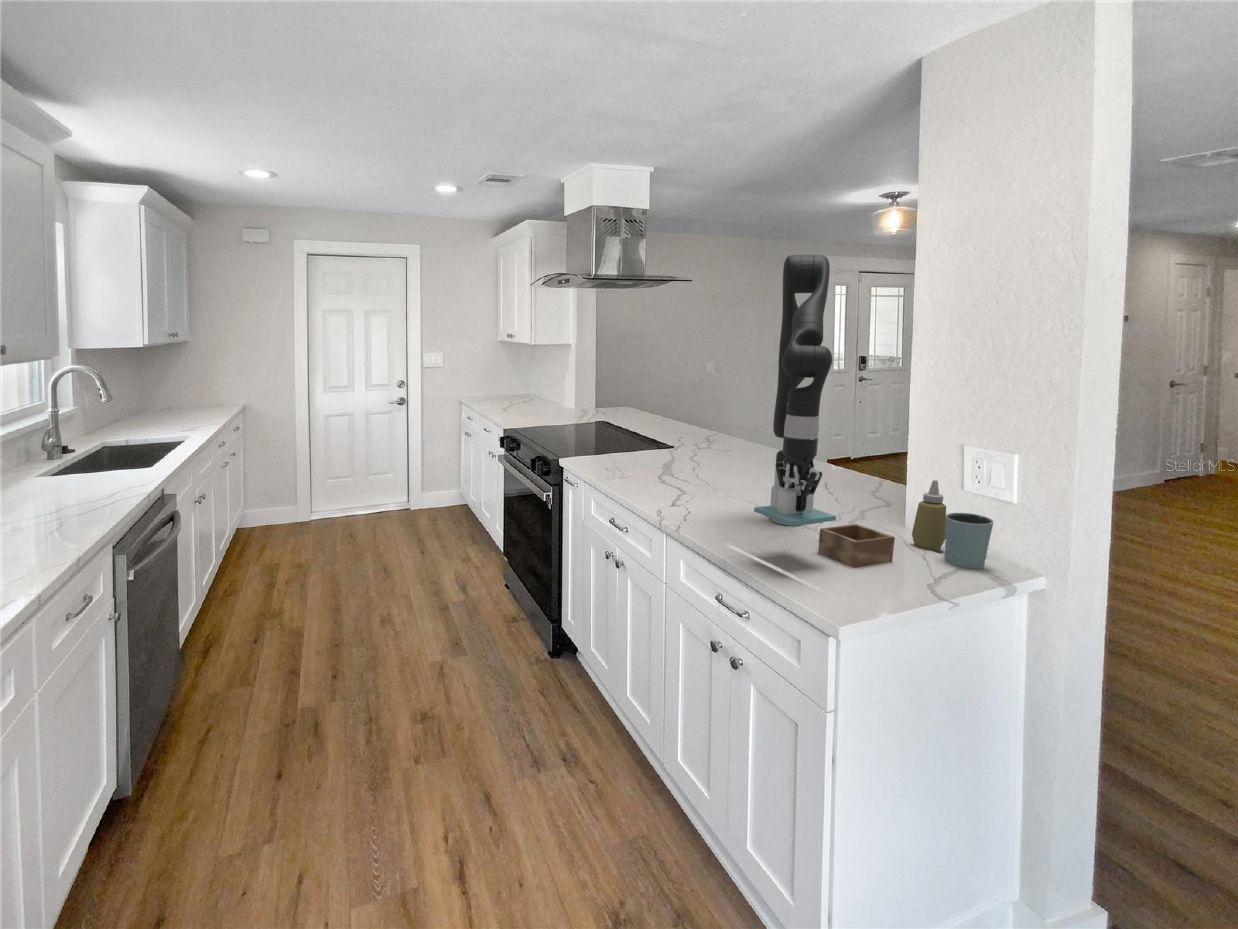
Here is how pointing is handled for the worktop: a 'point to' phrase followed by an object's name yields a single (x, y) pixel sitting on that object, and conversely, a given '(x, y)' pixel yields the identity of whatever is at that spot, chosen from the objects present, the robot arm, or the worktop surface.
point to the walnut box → (856, 545)
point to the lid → (794, 510)
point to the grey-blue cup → (967, 539)
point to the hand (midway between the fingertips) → (794, 509)
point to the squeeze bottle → (930, 520)
